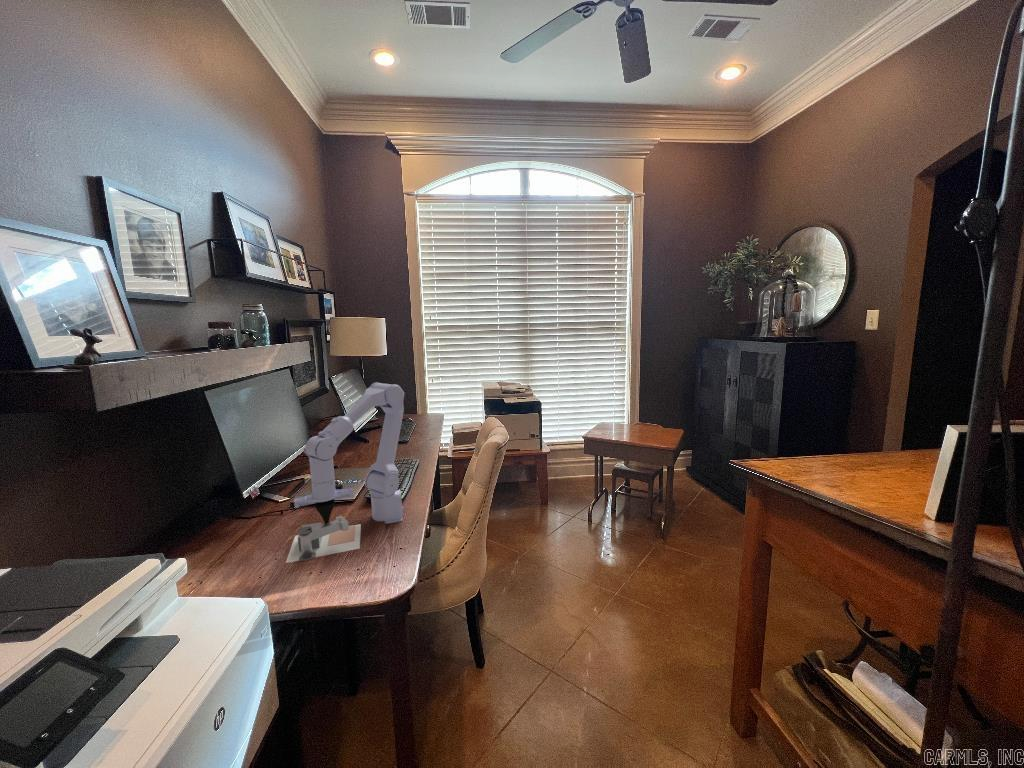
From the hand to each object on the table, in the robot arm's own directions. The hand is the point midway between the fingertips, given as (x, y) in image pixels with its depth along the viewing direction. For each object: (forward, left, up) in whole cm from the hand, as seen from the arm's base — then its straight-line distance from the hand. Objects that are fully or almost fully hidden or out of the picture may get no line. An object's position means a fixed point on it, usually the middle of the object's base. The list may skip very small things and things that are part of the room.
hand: (327, 525), depth 107 cm
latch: (+1, +3, -5) cm, 6 cm away
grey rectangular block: (+5, -2, -6) cm, 8 cm away
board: (+1, -1, -7) cm, 7 cm away
